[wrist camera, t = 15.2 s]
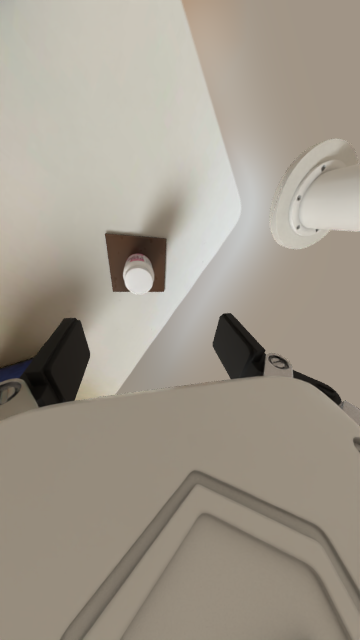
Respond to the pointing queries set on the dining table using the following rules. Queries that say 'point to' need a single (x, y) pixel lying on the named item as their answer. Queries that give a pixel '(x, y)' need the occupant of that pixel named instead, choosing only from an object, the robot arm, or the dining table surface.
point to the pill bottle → (138, 274)
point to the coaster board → (129, 245)
